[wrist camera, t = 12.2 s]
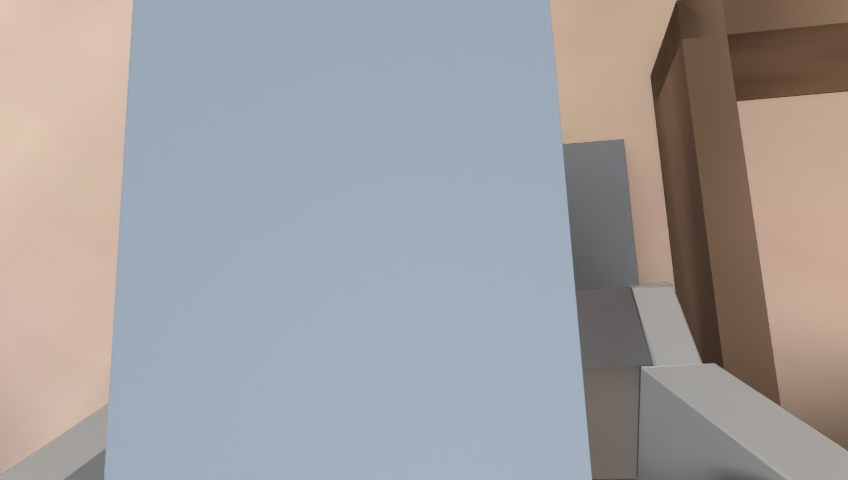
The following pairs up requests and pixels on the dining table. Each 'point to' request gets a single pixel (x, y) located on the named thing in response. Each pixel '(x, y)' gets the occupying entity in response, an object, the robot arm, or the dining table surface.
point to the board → (344, 246)
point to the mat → (600, 216)
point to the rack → (731, 156)
